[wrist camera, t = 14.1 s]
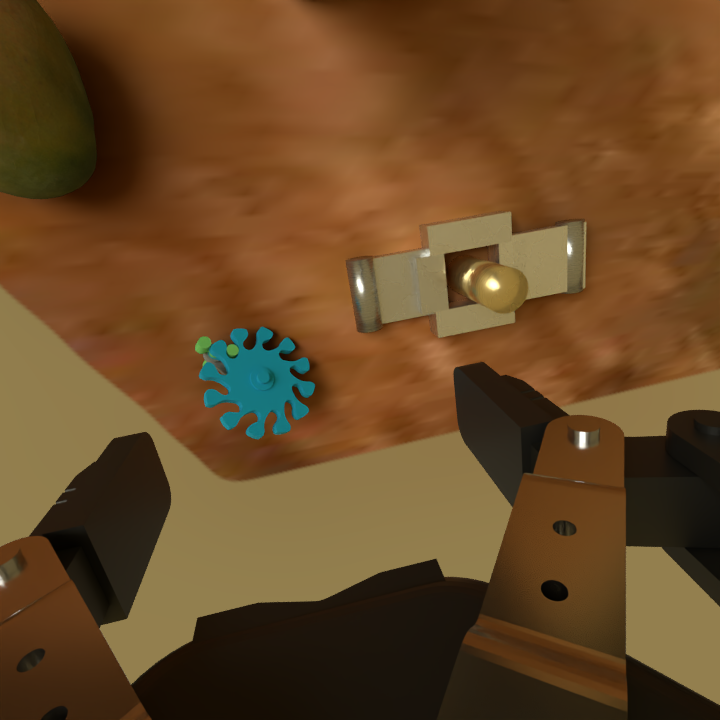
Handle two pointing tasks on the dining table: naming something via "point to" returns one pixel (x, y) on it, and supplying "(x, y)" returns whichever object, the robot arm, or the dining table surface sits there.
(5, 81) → the fruit
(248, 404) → the gear
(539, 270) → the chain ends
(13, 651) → the robot arm
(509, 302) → the pin
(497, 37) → the dining table surface
